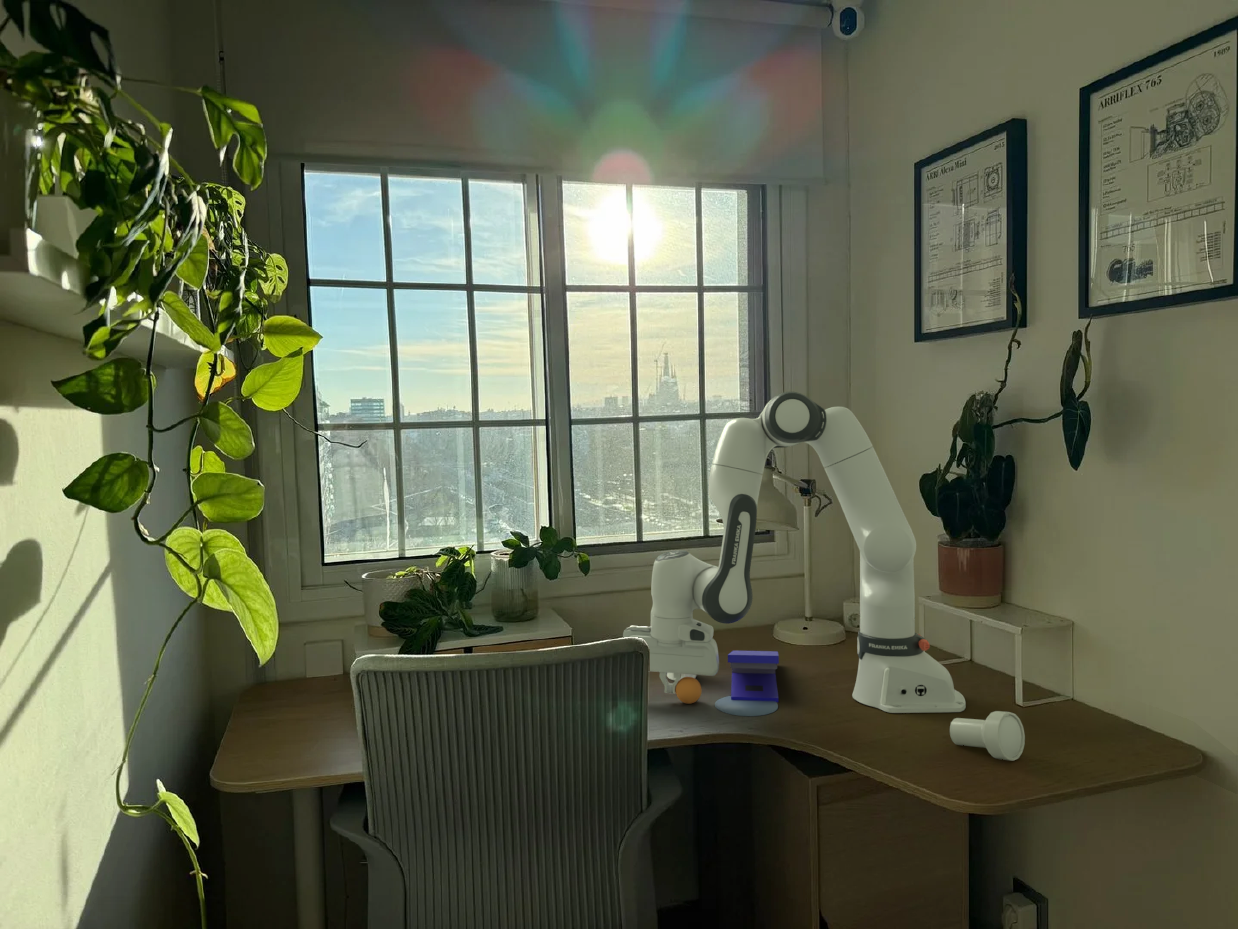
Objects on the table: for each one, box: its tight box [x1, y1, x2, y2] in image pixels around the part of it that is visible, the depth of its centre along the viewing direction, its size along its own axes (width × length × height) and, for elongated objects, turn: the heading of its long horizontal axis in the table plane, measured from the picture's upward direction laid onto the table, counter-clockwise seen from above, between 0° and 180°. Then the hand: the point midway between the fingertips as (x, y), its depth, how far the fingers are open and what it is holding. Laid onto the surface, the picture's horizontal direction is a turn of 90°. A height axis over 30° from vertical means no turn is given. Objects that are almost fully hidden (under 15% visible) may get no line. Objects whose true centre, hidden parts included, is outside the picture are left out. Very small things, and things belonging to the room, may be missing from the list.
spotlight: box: [949, 710, 1026, 762], centre depth 154 cm, size 8×11×8 cm
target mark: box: [714, 695, 779, 717], centre depth 181 cm, size 13×13×1 cm
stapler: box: [727, 650, 780, 703], centre depth 197 cm, size 12×28×10 cm, turn 172°
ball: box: [675, 677, 703, 704], centre depth 183 cm, size 6×6×6 cm
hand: (670, 692), depth 184 cm, fingers closed
